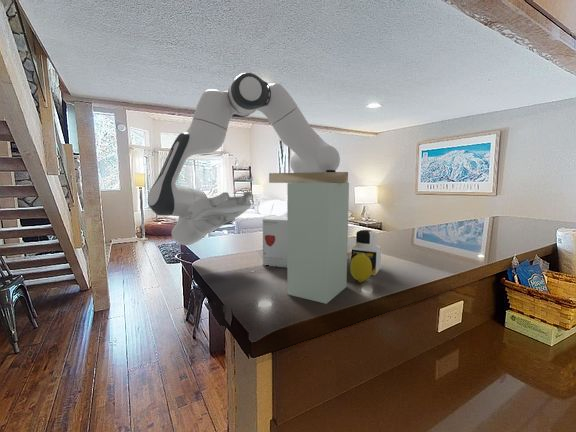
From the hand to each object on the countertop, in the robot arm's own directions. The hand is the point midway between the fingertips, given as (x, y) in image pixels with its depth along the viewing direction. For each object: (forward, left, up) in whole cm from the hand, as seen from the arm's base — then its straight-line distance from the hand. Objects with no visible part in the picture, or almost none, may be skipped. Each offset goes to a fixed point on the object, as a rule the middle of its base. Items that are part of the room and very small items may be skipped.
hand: (239, 194), depth 81 cm
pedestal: (0, +25, -23) cm, 34 cm away
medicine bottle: (-22, +30, -23) cm, 44 cm away
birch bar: (0, +21, +3) cm, 21 cm away
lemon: (-11, +32, -23) cm, 41 cm away
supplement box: (-15, +4, -23) cm, 28 cm away
